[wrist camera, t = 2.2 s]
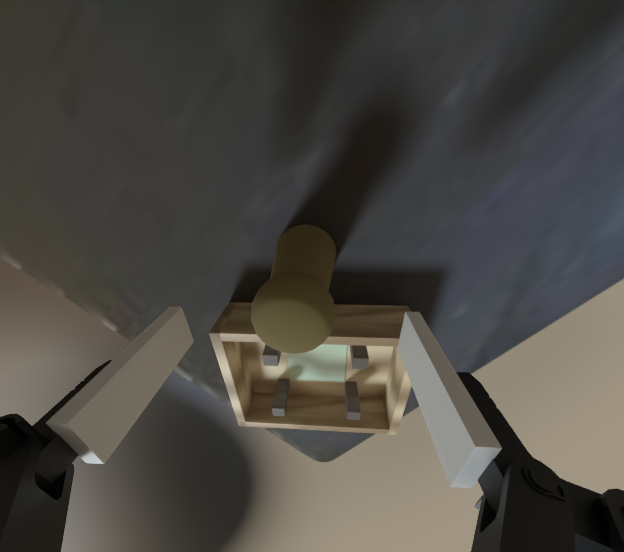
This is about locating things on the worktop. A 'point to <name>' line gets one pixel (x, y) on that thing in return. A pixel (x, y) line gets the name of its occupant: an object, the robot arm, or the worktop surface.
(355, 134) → the worktop surface
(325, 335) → the cork
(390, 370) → the socket box
